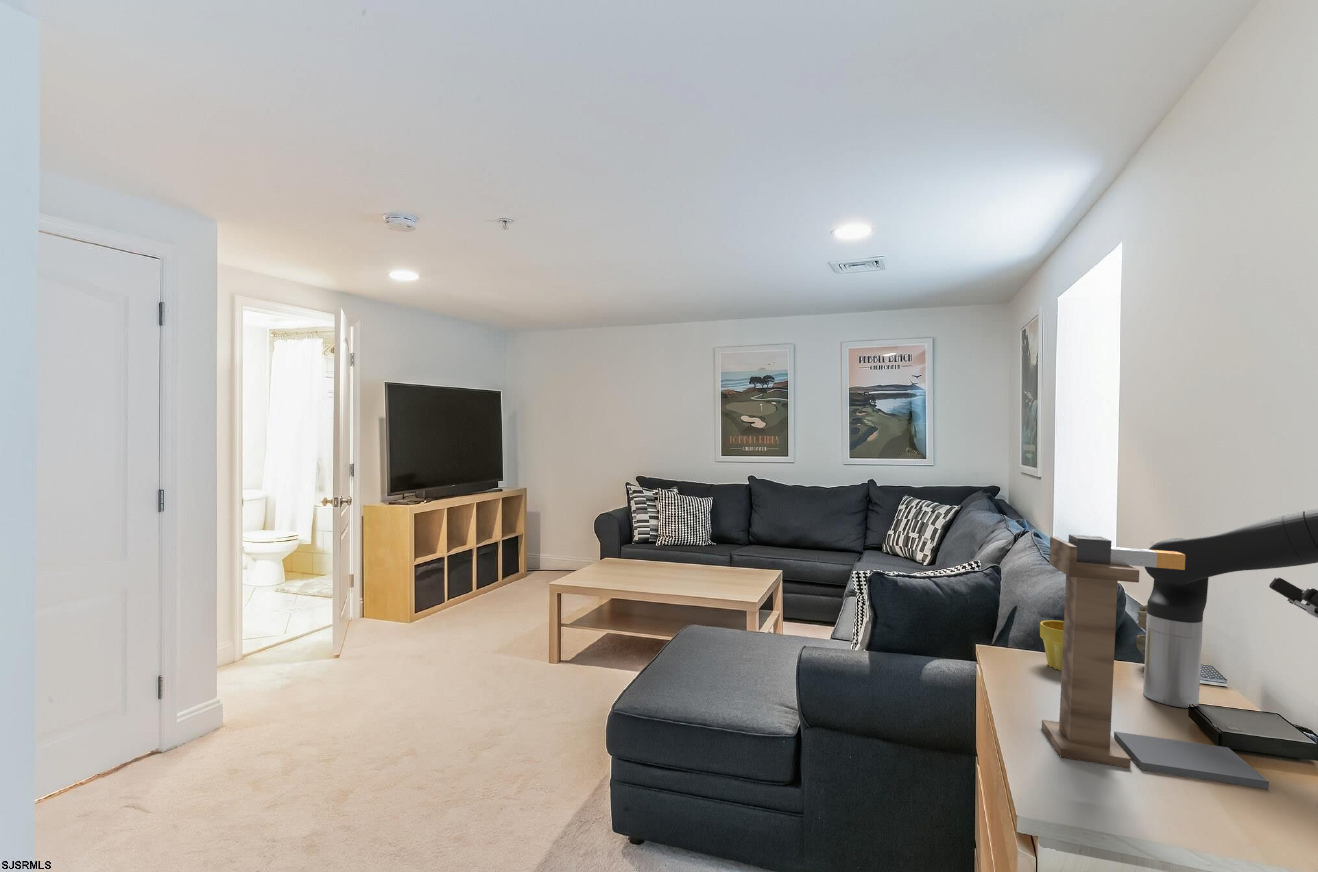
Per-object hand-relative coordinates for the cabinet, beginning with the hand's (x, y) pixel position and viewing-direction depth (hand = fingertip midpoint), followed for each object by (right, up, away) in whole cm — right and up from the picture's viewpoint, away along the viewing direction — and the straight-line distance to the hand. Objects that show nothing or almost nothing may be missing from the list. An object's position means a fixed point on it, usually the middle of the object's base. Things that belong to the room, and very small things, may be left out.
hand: (1289, 587), depth 109 cm
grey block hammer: (-22, +3, +6) cm, 23 cm away
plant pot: (-7, -30, +50) cm, 58 cm away
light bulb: (+15, -31, +52) cm, 62 cm away
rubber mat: (-14, -30, +4) cm, 33 cm away
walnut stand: (-28, -29, +8) cm, 41 cm away
